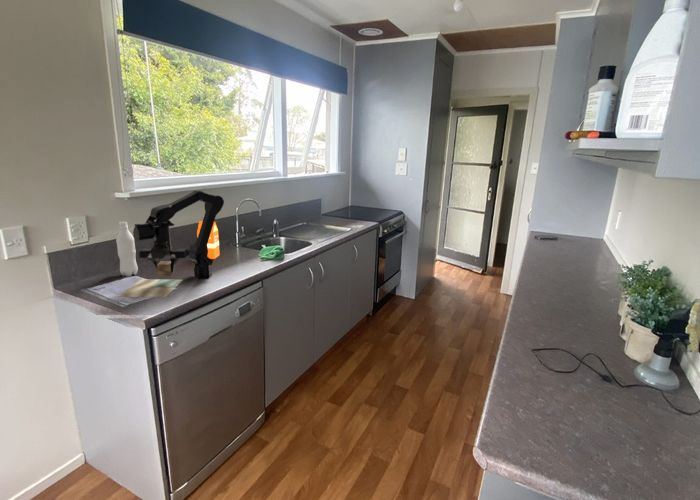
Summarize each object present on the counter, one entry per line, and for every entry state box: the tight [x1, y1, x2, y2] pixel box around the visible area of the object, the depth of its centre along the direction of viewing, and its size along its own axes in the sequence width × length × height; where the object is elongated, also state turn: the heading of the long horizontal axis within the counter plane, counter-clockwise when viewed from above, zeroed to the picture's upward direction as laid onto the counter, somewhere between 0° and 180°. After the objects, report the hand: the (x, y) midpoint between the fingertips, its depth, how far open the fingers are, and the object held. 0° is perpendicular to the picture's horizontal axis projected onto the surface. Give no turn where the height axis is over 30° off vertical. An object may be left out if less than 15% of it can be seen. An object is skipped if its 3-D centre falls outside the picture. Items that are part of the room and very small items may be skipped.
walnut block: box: [156, 260, 175, 277], centre depth 160 cm, size 5×5×5 cm
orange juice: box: [196, 220, 220, 260], centre depth 203 cm, size 8×9×20 cm
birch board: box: [118, 278, 183, 298], centre depth 157 cm, size 18×20×1 cm
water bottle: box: [115, 221, 139, 277], centre depth 170 cm, size 7×7×25 cm
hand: (166, 272), depth 161 cm, fingers closed on walnut block, 5 cm apart
